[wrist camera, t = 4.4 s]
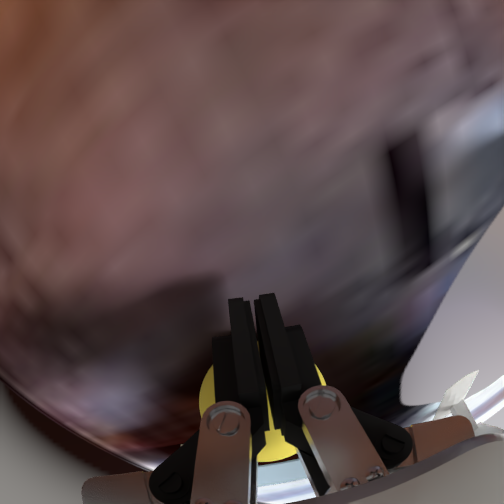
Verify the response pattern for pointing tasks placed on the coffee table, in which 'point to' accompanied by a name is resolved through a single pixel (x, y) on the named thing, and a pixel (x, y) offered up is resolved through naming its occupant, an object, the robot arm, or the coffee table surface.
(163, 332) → the coffee table surface
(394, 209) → the coffee table surface
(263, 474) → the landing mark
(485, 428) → the heart sculpture
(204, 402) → the ball
